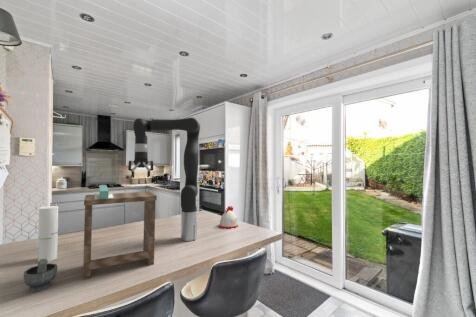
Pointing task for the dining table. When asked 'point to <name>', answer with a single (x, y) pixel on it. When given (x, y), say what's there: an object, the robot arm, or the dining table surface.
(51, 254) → the cylindrical container
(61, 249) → the dining table surface
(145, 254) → the stand
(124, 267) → the dining table surface
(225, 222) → the kitchen timer
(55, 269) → the mortar and pestle
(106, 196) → the teal square bar
